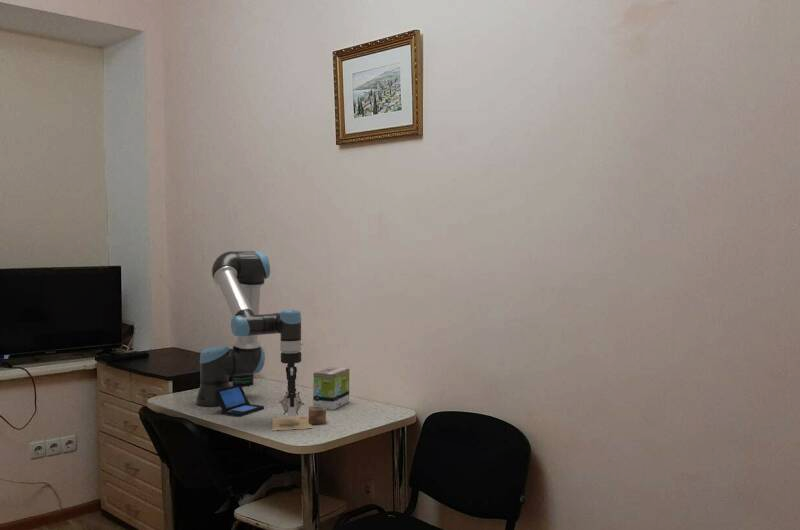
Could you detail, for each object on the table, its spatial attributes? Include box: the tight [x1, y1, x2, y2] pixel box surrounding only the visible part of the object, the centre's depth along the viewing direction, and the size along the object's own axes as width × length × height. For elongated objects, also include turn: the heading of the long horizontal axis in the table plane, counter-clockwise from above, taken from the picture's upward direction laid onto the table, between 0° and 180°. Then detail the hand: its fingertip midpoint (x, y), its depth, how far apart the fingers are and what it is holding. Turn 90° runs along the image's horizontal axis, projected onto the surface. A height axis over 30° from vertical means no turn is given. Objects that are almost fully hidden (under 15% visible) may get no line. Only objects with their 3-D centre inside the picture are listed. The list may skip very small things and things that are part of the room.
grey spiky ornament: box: [278, 391, 305, 416], centre depth 242 cm, size 9×8×10 cm
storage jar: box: [232, 374, 254, 388], centre depth 315 cm, size 10×10×15 cm
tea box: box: [312, 366, 350, 411], centre depth 271 cm, size 15×10×15 cm, turn 161°
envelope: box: [271, 415, 313, 432], centre depth 242 cm, size 14×18×1 cm
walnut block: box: [308, 406, 327, 425], centre depth 244 cm, size 6×6×5 cm
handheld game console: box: [215, 385, 265, 417], centre depth 262 cm, size 16×13×9 cm
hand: (291, 412), depth 242 cm, fingers closed on grey spiky ornament, 9 cm apart
